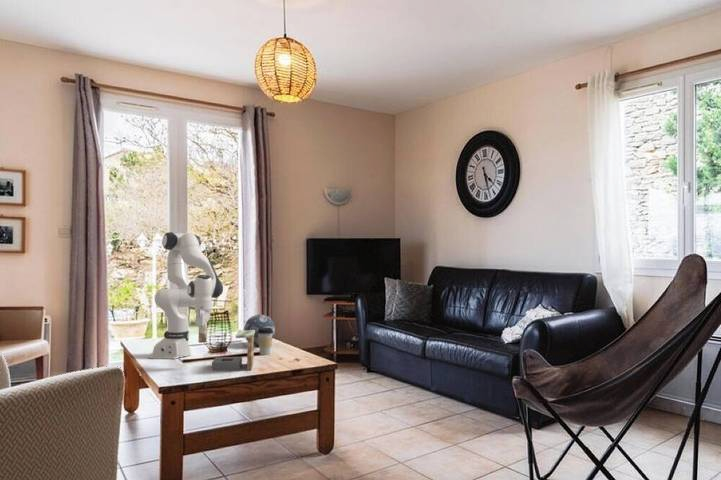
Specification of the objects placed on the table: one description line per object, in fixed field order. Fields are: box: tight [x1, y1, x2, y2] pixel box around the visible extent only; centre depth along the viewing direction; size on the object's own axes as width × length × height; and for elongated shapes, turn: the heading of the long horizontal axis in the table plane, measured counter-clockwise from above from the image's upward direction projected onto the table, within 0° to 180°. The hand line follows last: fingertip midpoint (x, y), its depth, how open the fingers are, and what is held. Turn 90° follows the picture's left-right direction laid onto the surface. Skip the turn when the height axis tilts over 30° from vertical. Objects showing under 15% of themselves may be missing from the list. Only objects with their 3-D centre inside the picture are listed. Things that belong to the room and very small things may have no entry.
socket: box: [211, 356, 243, 371], centre depth 259 cm, size 14×12×4 cm
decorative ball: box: [243, 314, 276, 347], centre depth 315 cm, size 20×20×20 cm
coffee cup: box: [257, 328, 273, 356], centre depth 291 cm, size 9×9×15 cm
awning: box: [235, 329, 255, 371], centre depth 260 cm, size 8×16×18 cm, turn 8°
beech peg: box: [198, 319, 208, 344], centre depth 258 cm, size 4×4×12 cm
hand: (202, 332), depth 258 cm, fingers closed on beech peg, 4 cm apart
